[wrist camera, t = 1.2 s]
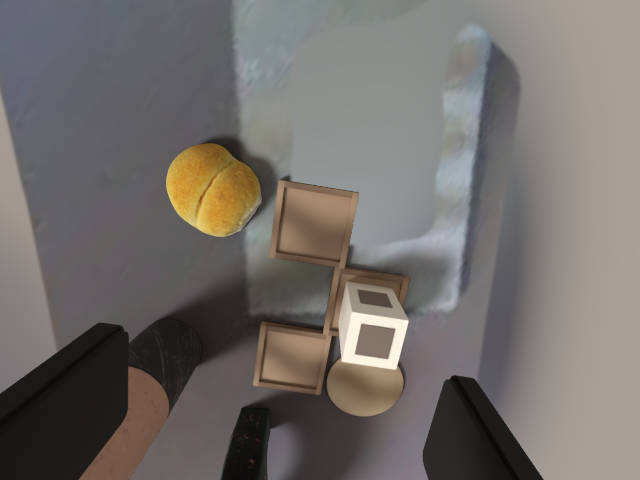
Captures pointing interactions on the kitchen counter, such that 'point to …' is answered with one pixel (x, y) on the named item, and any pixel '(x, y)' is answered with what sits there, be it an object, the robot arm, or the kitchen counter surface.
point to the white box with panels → (371, 326)
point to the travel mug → (148, 395)
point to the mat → (363, 388)
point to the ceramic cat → (248, 447)
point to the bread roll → (213, 189)
